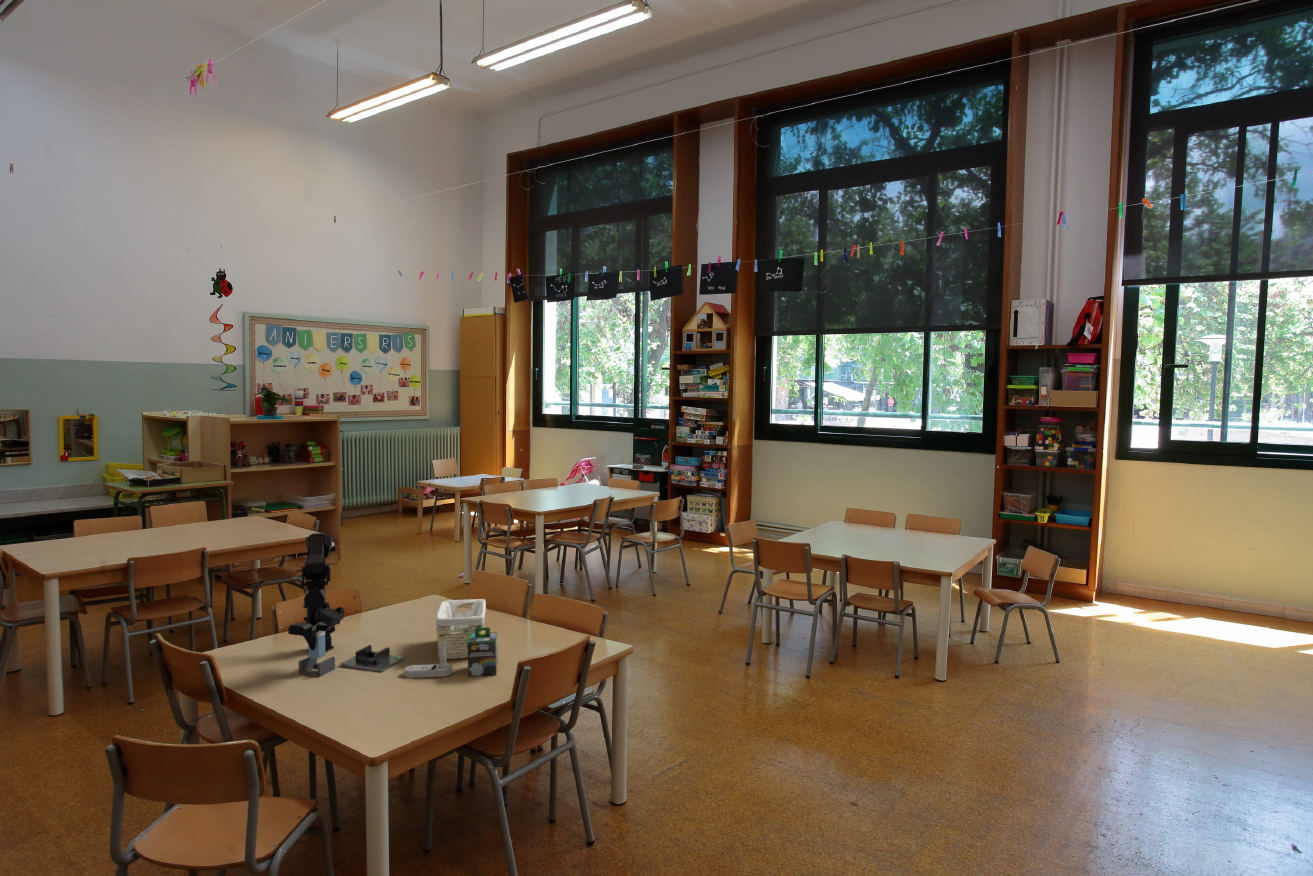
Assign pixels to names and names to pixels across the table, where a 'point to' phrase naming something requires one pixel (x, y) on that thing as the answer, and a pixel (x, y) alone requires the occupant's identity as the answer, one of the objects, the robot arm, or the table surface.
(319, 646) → the plug
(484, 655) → the chalk box
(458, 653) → the storage basket
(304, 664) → the holster
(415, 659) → the table surface
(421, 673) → the electronic device
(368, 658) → the port
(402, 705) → the table surface
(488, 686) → the table surface
